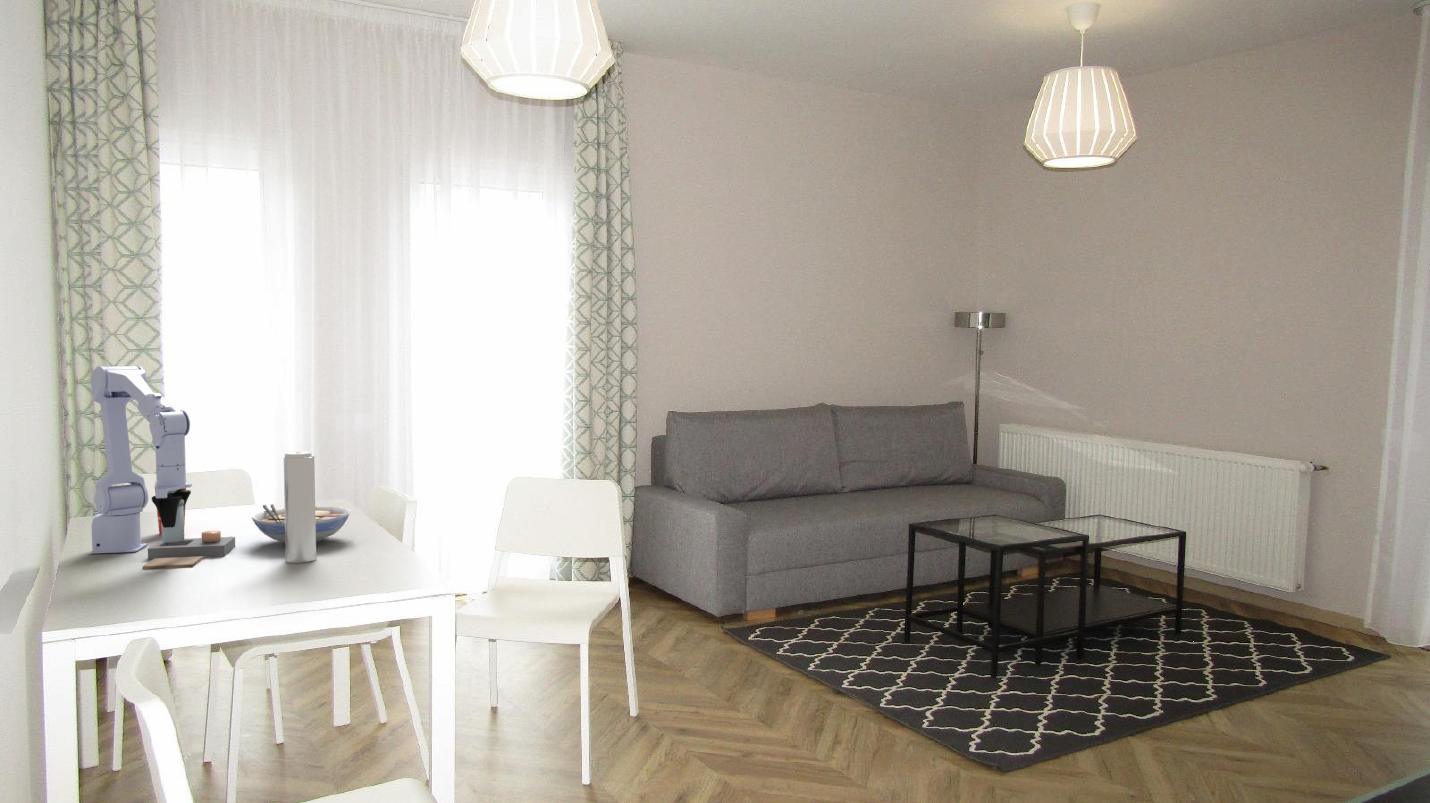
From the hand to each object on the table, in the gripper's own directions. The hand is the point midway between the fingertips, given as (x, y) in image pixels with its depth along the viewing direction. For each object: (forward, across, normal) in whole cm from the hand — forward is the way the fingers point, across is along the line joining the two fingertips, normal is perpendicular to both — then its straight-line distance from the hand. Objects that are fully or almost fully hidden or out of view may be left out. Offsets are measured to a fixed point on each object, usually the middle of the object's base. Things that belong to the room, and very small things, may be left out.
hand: (172, 525), depth 209 cm
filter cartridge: (+3, 0, 0) cm, 3 cm away
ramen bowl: (+9, +18, -24) cm, 31 cm away
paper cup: (+9, +37, +11) cm, 40 cm away
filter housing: (+9, +11, -1) cm, 14 cm away
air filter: (+9, -2, -27) cm, 29 cm away
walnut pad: (+9, 0, 0) cm, 9 cm away
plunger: (+6, +11, -5) cm, 13 cm away
